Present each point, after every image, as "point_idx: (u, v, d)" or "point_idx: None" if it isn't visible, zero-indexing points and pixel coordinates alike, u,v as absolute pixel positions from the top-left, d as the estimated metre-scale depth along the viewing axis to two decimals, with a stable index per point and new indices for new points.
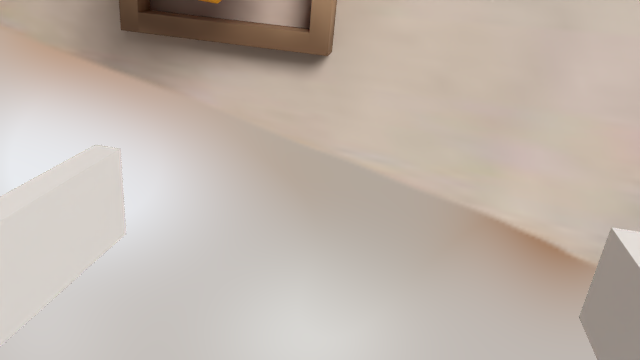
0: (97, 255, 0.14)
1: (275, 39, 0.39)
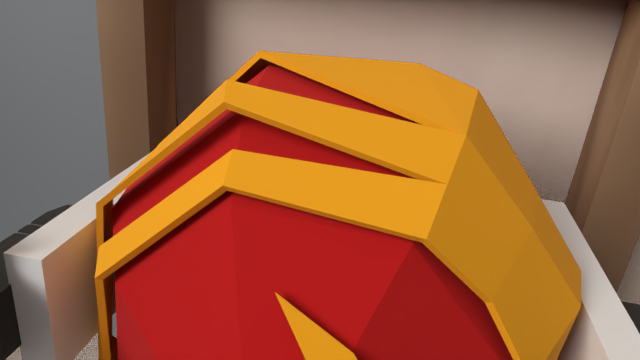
0: None
1: None
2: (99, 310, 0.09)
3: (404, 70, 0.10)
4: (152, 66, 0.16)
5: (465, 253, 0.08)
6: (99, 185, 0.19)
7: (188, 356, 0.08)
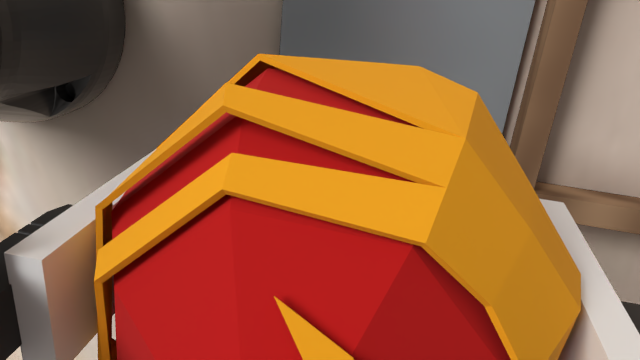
0: None
1: None
2: (98, 313, 0.09)
3: (403, 73, 0.10)
4: (580, 19, 0.27)
5: (464, 257, 0.08)
6: (499, 100, 0.30)
7: (187, 359, 0.08)
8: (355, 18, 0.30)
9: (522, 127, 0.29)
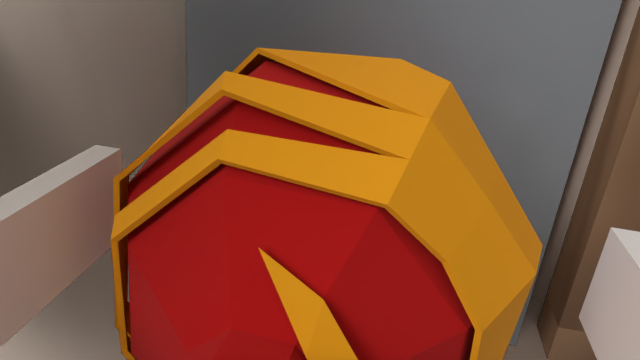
0: (97, 255, 0.14)
1: None
2: (114, 269, 0.10)
3: (385, 64, 0.11)
4: None
5: (423, 219, 0.09)
6: (547, 184, 0.18)
7: (187, 303, 0.09)
8: (305, 49, 0.18)
9: (588, 234, 0.17)
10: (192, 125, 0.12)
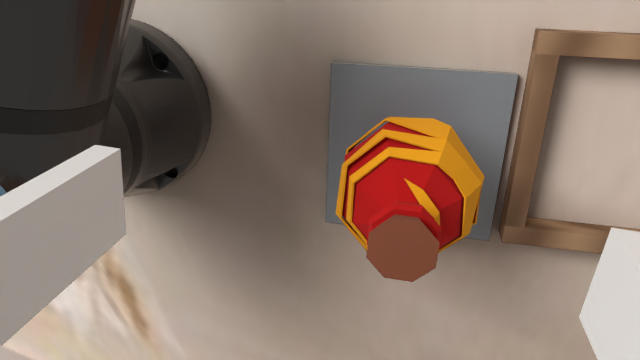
0: (97, 255, 0.14)
1: None
2: (352, 192, 0.33)
3: (428, 121, 0.35)
4: (548, 105, 0.38)
5: (447, 167, 0.32)
6: (495, 161, 0.41)
7: (382, 197, 0.32)
8: (384, 108, 0.41)
9: (512, 181, 0.40)
10: (364, 146, 0.35)
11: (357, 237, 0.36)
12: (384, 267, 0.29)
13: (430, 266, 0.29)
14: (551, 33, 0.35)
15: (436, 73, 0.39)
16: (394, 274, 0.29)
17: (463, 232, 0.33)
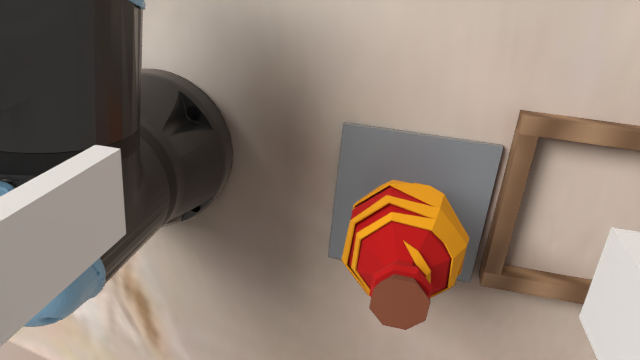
0: (97, 255, 0.14)
1: None
2: (358, 247, 0.39)
3: (425, 188, 0.41)
4: (526, 176, 0.44)
5: (439, 233, 0.38)
6: (479, 216, 0.47)
7: (384, 254, 0.38)
8: (386, 165, 0.47)
9: (493, 236, 0.46)
10: (369, 205, 0.41)
11: (359, 281, 0.42)
12: (383, 317, 0.35)
13: (421, 319, 0.35)
14: (533, 118, 0.42)
15: (433, 140, 0.45)
16: (391, 323, 0.36)
17: (449, 285, 0.40)
